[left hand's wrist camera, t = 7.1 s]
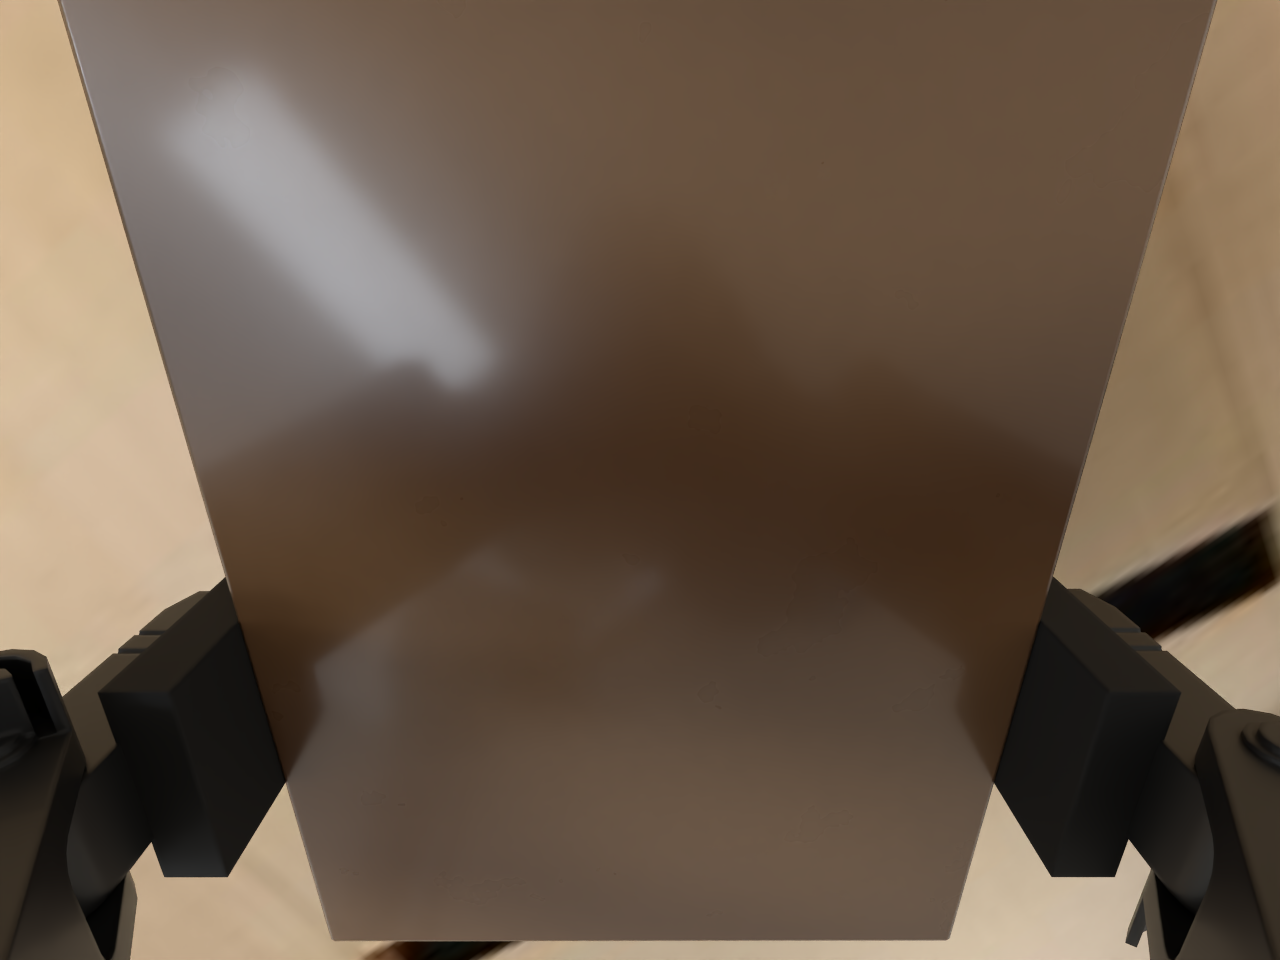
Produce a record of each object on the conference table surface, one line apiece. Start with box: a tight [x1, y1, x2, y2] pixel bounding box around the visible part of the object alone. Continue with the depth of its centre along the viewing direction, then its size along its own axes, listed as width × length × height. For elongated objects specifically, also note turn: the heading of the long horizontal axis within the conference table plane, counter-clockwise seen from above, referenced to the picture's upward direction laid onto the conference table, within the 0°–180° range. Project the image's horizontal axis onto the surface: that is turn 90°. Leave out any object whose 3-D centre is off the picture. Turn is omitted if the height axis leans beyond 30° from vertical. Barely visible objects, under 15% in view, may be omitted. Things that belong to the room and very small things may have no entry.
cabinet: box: [58, 0, 1217, 941], centre depth 11 cm, size 18×10×9 cm, turn 0°
